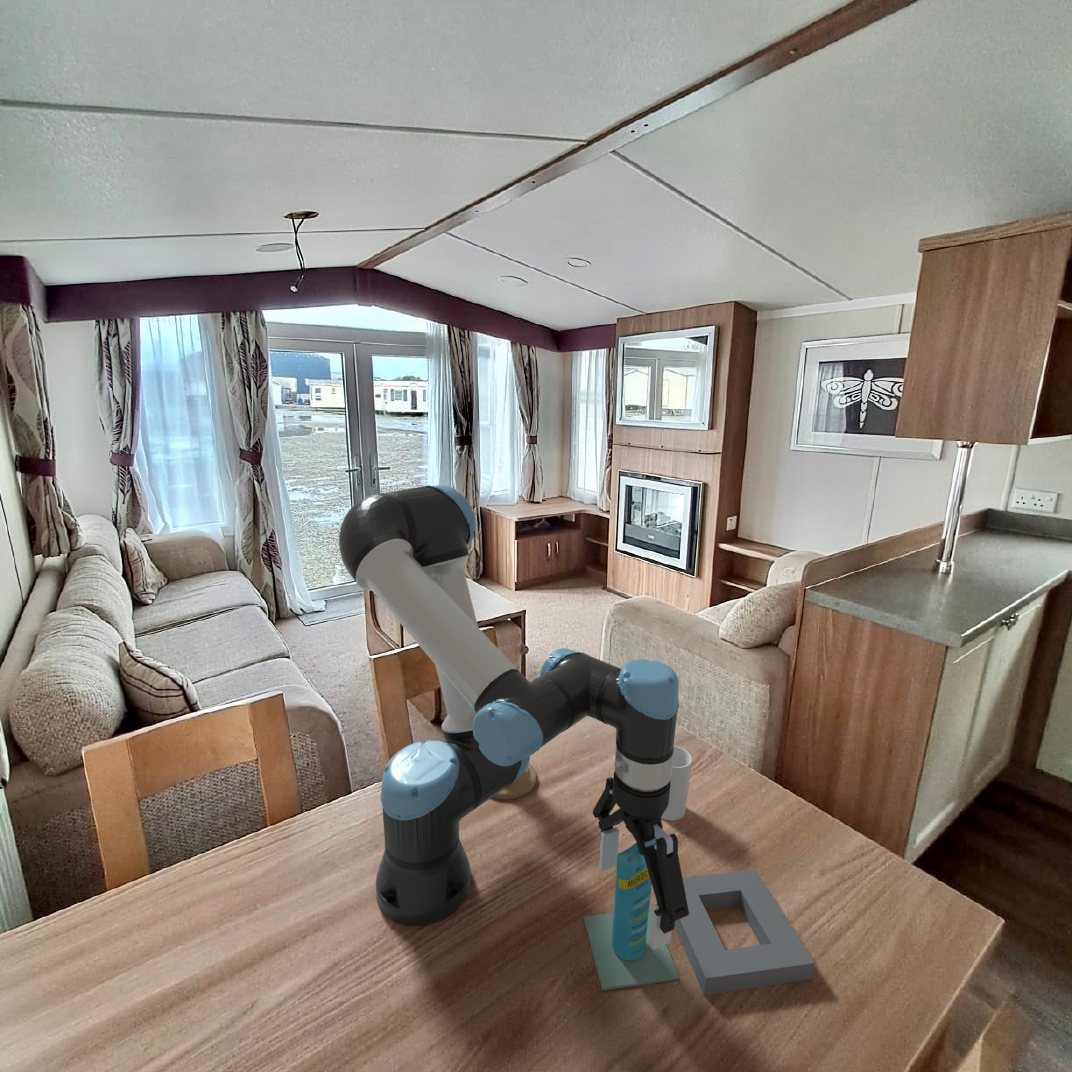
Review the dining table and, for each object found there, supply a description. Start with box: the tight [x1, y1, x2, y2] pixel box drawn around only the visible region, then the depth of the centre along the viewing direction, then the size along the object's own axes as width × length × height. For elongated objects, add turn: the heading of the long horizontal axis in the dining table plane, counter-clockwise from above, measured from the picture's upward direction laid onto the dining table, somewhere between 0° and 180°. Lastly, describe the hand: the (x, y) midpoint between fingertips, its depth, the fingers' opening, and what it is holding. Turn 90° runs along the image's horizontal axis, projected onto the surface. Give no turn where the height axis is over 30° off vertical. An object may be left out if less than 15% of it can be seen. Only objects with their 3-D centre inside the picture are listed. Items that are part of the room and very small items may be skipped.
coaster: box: [583, 907, 680, 991], centre depth 85 cm, size 11×11×1 cm
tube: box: [611, 838, 656, 961], centre depth 82 cm, size 7×5×19 cm, turn 131°
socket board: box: [674, 869, 816, 996], centre depth 87 cm, size 16×16×3 cm
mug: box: [661, 745, 693, 822], centre depth 112 cm, size 10×7×12 cm, turn 20°
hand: (632, 902), depth 83 cm, fingers open, 13 cm apart
